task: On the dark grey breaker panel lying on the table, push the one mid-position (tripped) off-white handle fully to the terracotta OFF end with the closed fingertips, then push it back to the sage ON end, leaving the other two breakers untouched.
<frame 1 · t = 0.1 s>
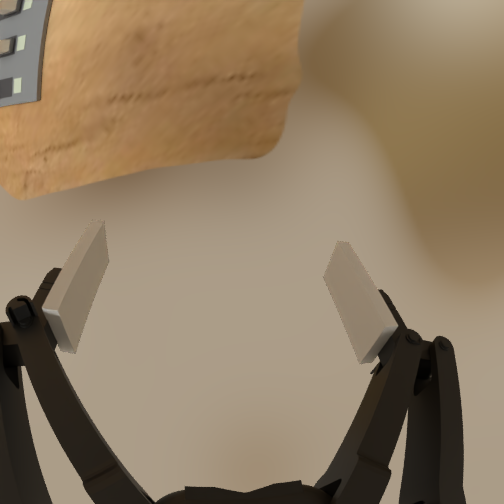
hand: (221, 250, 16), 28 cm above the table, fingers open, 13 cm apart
breaker a: (3, 6, 16), point 4 cm above the table, slide at 3.5 cm
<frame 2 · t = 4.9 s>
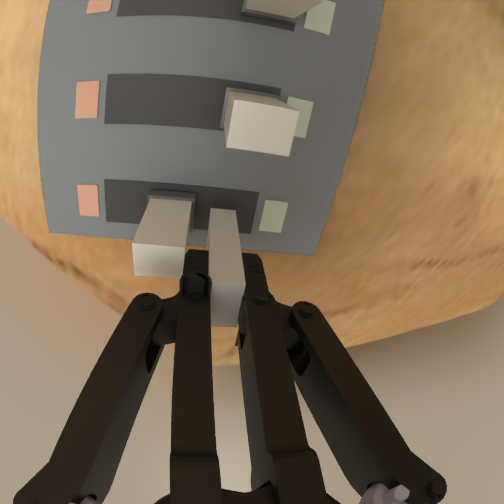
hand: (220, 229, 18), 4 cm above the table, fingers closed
tripped breaker: (165, 230, 17), point 4 cm above the table, slide at -0.4 cm, touching gripper
panel: (190, 99, 16), on the table
breaker b: (254, 116, 13), point 4 cm above the table, slide at 3.5 cm
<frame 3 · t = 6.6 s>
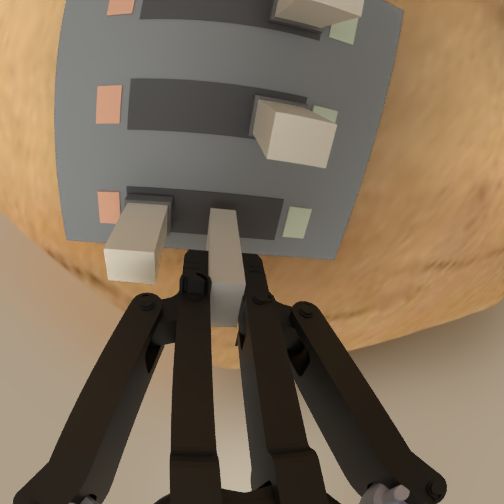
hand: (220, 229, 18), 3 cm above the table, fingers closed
tripped breaker: (140, 235, 16), point 4 cm above the table, slide at -3.5 cm
panel: (215, 106, 17), on the table
breaker b: (286, 126, 14), point 4 cm above the table, slide at 3.5 cm
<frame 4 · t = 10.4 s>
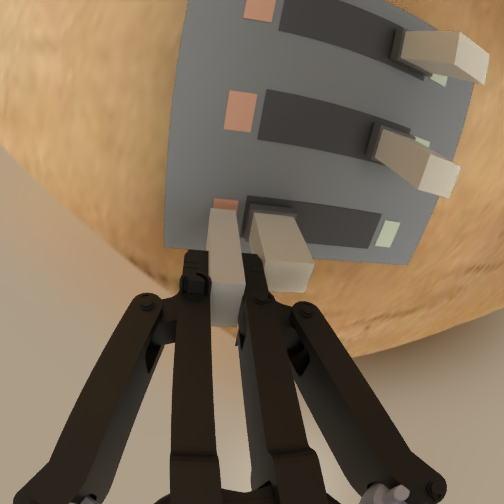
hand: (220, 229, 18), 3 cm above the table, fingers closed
tripped breaker: (276, 245, 18), point 4 cm above the table, slide at -3.5 cm, touching gripper
panel: (334, 126, 18), on the table
breaker b: (411, 158, 15), point 4 cm above the table, slide at 3.5 cm
breaker a: (438, 54, 11), point 4 cm above the table, slide at 3.5 cm
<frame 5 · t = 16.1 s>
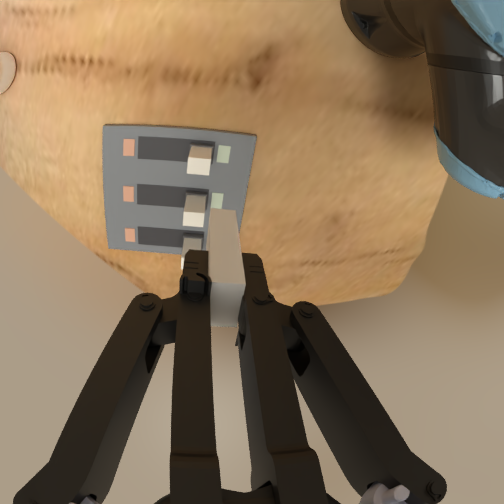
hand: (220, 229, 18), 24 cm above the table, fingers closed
water bottle: (3, 72, 25), on the table
tripped breaker: (191, 251, 43), point 4 cm above the table, slide at 3.5 cm
panel: (173, 193, 42), on the table
breaker b: (194, 208, 39), point 4 cm above the table, slide at 3.5 cm
breaker a: (200, 158, 35), point 4 cm above the table, slide at 3.5 cm
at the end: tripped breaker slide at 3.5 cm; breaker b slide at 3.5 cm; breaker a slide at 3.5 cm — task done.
